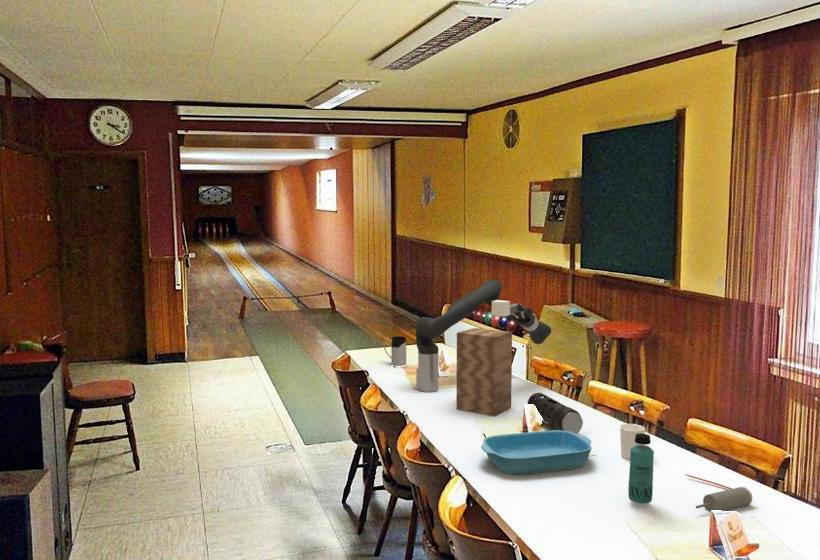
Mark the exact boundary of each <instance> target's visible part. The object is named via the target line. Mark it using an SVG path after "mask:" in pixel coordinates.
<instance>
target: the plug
mask: <svg viewBox="0 0 820 560" xmlns="http://www.w3.org/2000/svg"><path fill="white" fill-rule="evenodd" d="M510 303H511V300H501V299H500V300H495V301H492V307H491V316H493V317H494V316H496V317H508V315H510V314H513V313H517V312H520V311H519V310H518V309H517V304H518V303H511V304H510ZM519 304H520V305H521V306H522V307H523V303H519Z"/></svg>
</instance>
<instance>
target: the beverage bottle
mask: <svg viewBox="0 0 820 560" xmlns="http://www.w3.org/2000/svg"><path fill="white" fill-rule="evenodd" d="M635 442H636V443H638V444H643V445H635V446H633V447H632V448H631V449H630V452H631V453H630V459H629V469H628V470H629V473H628V486H627V487H628V489H627V490H628V491H627V493H628V499H629V500H630V501H631V502H633V503H636V504H640V505H641V504H644V505H645V504H651V502H652V500H653V493H654V492H653V490H654V484H653V483H654V459H655V458H654V457H655V451H654V450H653V449H652V448H651V447H650V446H649V445H650V444H651V443H652V442H651V436H650V435H649V434H647V433H645V434H642V433H640V434H636V436H635Z"/></svg>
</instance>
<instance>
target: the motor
mask: <svg viewBox="0 0 820 560" xmlns="http://www.w3.org/2000/svg"><path fill="white" fill-rule="evenodd" d="M685 476H687V477H689V478H691V479H692V478H693V481H694V482H698V483H700V484H701V483H702V484H704V485H705V484H706V485H709V486H711V487H715V488H719V489H722V491H718V492H717V491H716V492H712V493H710V494H709V493H708V494H706V495H704V496H703V498H702V502H703V503H702V504H699V505H698V504H697V505H695V508H696V509H700V508H705V510H706V511H707V512H710V511H711V510H726V511H729V510H733V509H737V508H741V507H746V506H749V505H751V504H752V502H753V495H752V492H751V491H750V490H749V488H747V487H745V486H738V487H735V488H732V487H729V486H726V485H723V484H720V483H717V482H714V481H712V480H707V479H703V478H700V477H696V476H693V475H690V474H686V473H685ZM694 479H696V480H694ZM698 480H699V481H698ZM702 481H703V482H702Z"/></svg>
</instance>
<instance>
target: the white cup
mask: <svg viewBox="0 0 820 560" xmlns="http://www.w3.org/2000/svg"><path fill="white" fill-rule="evenodd" d="M619 429H620V430H619V433H620V439H619V441H620V456H621V457H622V458H624V459H628V460H630V453H631V452H630V449H631V448H632V447H633V446H635V445H643V444H638V443H636V442H635V436H636V434H640V433H642V434H646V428H645V426H644V425H639V424H638V423H637V424H636V423H624V424H621V425H620V426H619Z"/></svg>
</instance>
